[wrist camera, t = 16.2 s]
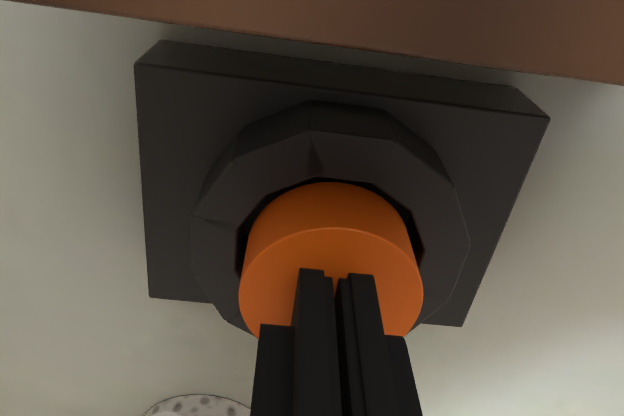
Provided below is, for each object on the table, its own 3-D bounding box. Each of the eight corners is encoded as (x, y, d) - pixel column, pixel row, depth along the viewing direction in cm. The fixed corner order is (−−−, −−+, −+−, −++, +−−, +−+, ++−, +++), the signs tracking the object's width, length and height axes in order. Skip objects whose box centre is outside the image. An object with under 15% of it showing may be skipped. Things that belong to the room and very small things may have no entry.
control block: (159, 38, 14) (102, 88, 10) (518, 87, 15) (590, 149, 11) (166, 253, 18) (129, 344, 14) (445, 281, 19) (479, 375, 15)
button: (253, 171, 12) (243, 217, 10) (426, 191, 12) (446, 239, 10) (243, 302, 14) (233, 357, 12) (389, 316, 14) (399, 372, 13)
